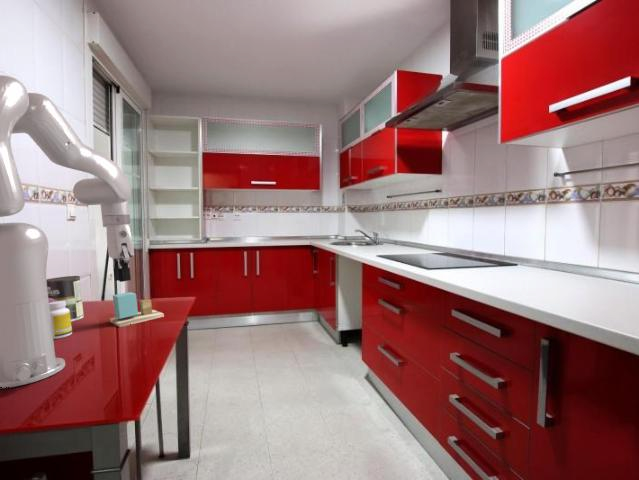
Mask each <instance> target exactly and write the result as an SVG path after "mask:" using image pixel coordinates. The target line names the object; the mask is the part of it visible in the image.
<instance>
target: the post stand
mask: <svg viewBox="0 0 639 480" xmlns="http://www.w3.org/2000/svg"><path fill="white" fill-rule="evenodd" d="M139 306H140V307H139V308H140V311H138V315H134V316H129V317H125V318H118V317H116V316H114V317H112V318H111V317H110V318H109V322H110V323H111V324H114V325H115V326H117V327H119V328H122V327H127V326H130V324H131V325H134V324H139V323H143V322H147V321H150V320H155V319H159V318H164V317H165V315H164V313H163V312H161V311H158V310H156V309H153V305H152V300H151V299H149V298H147V299H143V300H142V299H141V300H139Z"/></svg>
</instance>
